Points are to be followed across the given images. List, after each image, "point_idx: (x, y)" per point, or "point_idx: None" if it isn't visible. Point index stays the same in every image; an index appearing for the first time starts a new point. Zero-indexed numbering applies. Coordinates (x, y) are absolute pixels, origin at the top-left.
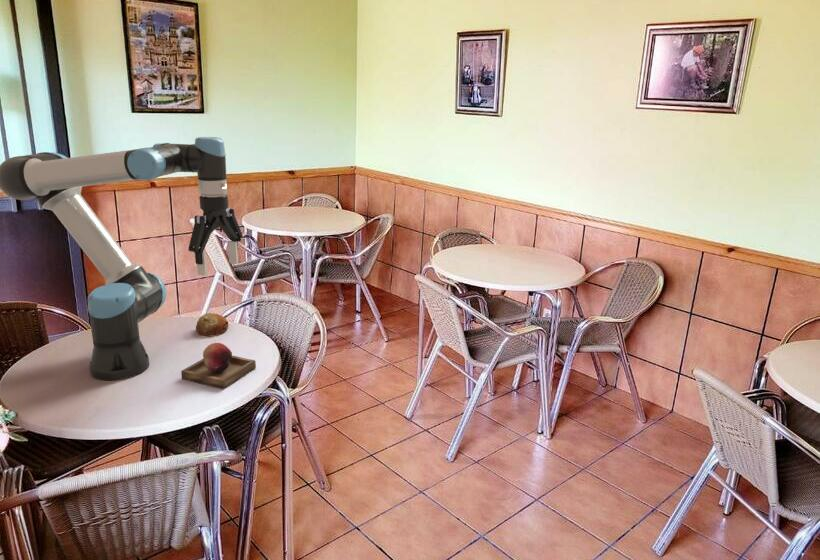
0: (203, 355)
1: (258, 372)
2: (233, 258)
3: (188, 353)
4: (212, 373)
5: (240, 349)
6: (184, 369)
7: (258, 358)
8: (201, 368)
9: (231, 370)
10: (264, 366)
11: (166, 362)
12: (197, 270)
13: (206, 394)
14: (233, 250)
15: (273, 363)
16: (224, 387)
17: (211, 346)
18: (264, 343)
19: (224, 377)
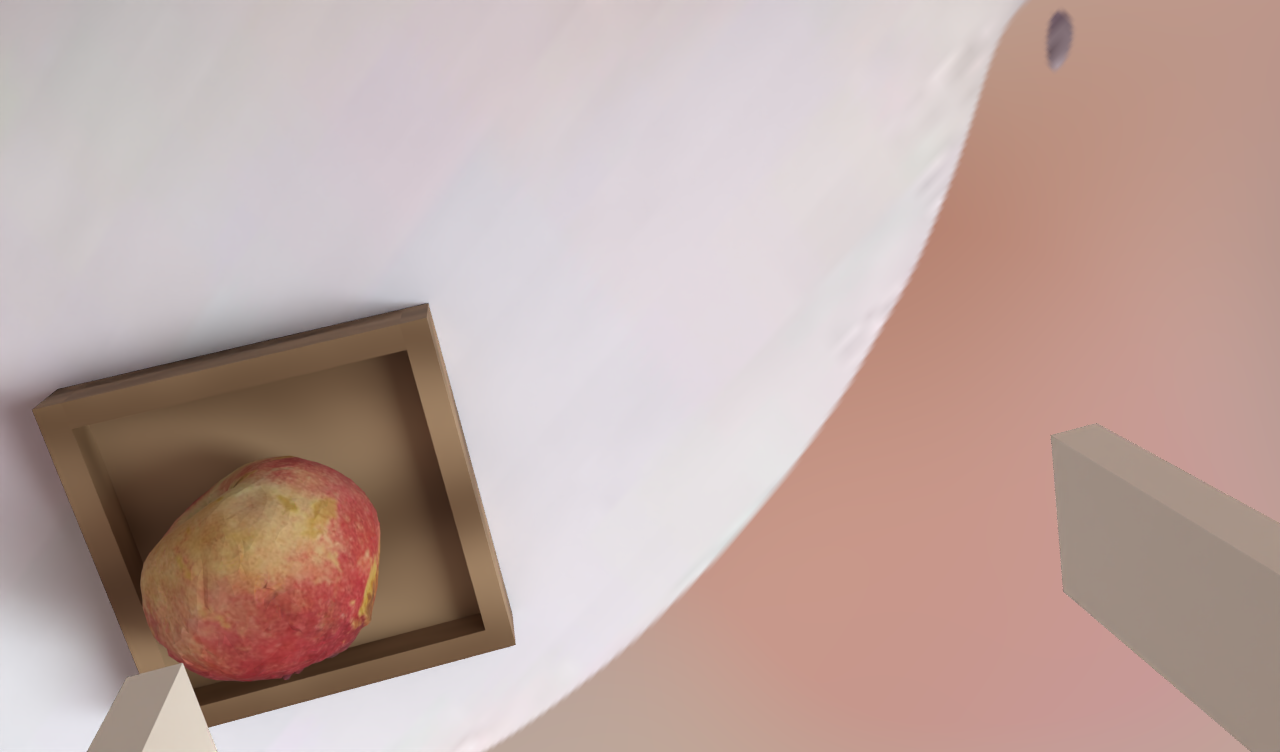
0: (143, 569)
1: (484, 666)
2: (1119, 574)
3: (358, 30)
4: None
5: (663, 294)
6: (64, 408)
7: (632, 508)
8: (227, 400)
9: None
10: (569, 627)
11: (130, 35)
12: (100, 732)
13: (61, 680)
14: (1244, 682)
15: (636, 633)
16: None
17: (202, 614)
18: (840, 344)
19: None
